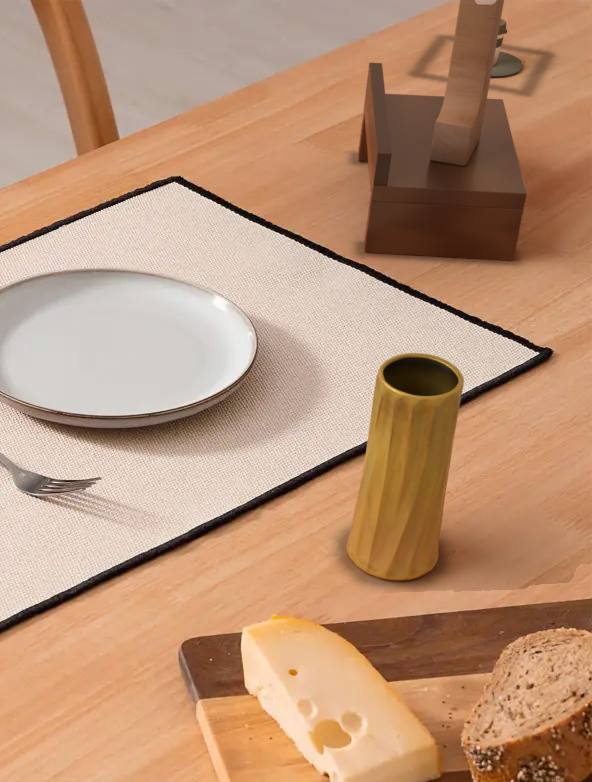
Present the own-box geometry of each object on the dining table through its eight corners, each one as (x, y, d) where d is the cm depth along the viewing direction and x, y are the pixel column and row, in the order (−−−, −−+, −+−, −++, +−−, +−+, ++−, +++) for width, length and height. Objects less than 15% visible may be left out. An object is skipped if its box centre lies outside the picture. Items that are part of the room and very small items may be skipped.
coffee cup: (549, 54, 174) (558, 10, 171) (526, 93, 165) (535, 48, 162) (443, 36, 178) (450, -7, 175) (416, 74, 169) (422, 29, 166)
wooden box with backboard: (491, 162, 152) (508, 68, 146) (513, 261, 137) (533, 161, 131) (357, 155, 153) (369, 62, 147) (364, 252, 138) (377, 153, 132)
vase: (330, 560, 104) (354, 382, 95) (370, 514, 108) (396, 338, 99) (414, 594, 101) (447, 413, 93) (452, 544, 105) (486, 367, 97)
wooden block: (444, 132, 142) (470, -33, 133) (480, 138, 141) (509, -27, 132) (428, 161, 137) (454, -8, 128) (465, 167, 136) (494, -2, 127)
